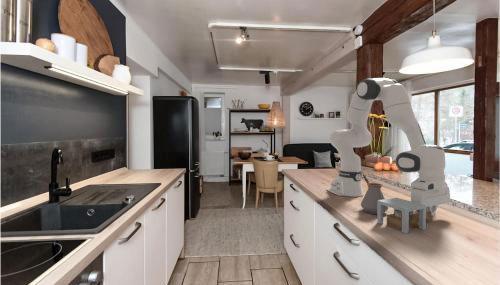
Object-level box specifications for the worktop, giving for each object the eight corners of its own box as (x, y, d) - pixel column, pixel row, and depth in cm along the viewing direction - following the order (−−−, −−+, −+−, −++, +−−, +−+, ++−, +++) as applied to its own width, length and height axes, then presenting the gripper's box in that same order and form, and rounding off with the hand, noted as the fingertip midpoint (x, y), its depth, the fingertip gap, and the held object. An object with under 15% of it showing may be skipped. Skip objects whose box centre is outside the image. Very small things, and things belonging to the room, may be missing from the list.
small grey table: (377, 222, 99) (377, 200, 98) (396, 218, 103) (396, 197, 102) (405, 233, 87) (406, 208, 87) (425, 229, 91) (426, 205, 91)
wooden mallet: (421, 217, 104) (421, 203, 104) (436, 222, 99) (436, 207, 98) (386, 224, 96) (386, 209, 96) (401, 230, 91) (401, 214, 90)
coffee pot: (392, 216, 106) (393, 182, 105) (365, 215, 107) (365, 182, 107) (374, 202, 127) (374, 174, 127) (351, 201, 129) (351, 174, 128)
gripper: (438, 179, 108) (438, 210, 109) (407, 183, 100) (407, 216, 101) (455, 182, 102) (454, 214, 103) (423, 186, 95) (423, 221, 95)
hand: (431, 215), depth 102 cm, fingers closed
